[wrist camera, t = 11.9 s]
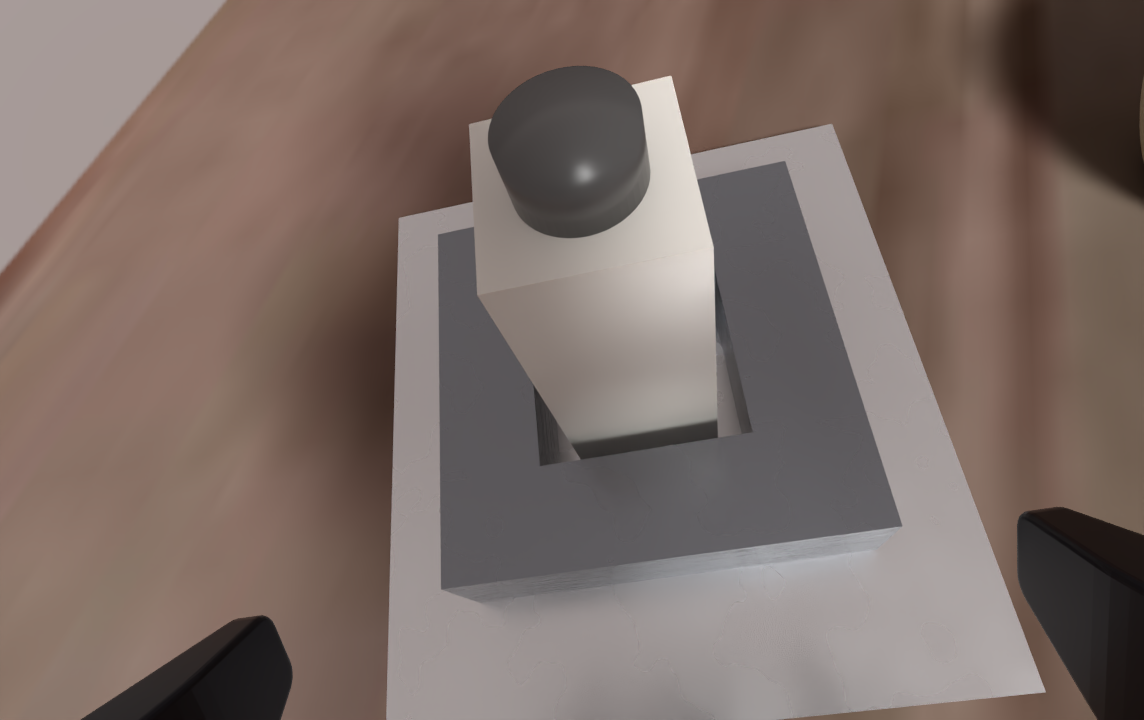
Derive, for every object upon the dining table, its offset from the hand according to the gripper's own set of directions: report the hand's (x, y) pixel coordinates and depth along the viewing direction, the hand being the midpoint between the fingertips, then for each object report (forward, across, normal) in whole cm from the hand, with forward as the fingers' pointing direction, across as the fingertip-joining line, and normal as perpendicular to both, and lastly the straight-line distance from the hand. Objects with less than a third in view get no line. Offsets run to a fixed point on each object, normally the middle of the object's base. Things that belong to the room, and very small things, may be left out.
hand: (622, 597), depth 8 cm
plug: (+15, 0, +3) cm, 15 cm away
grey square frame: (+15, 0, +4) cm, 16 cm away
